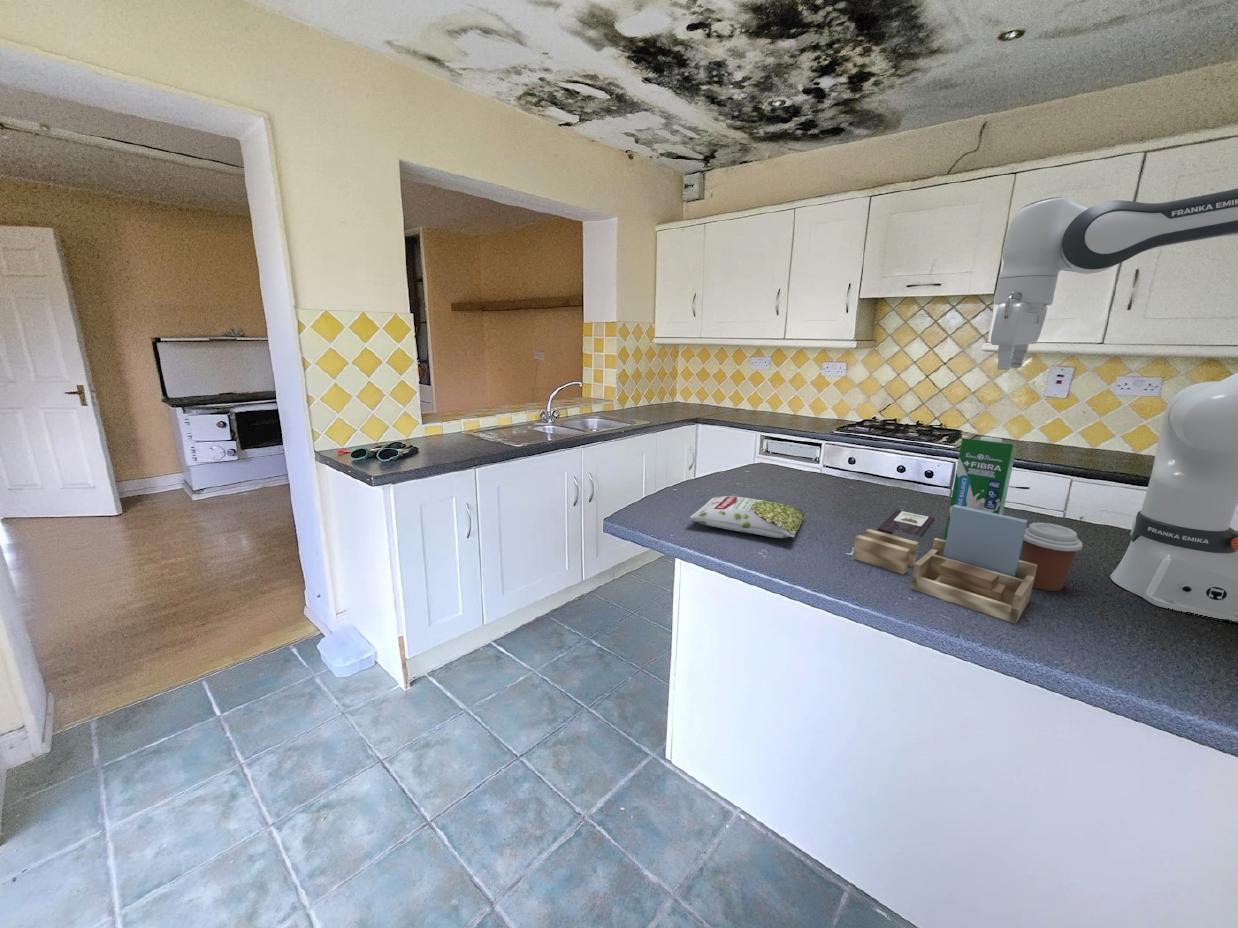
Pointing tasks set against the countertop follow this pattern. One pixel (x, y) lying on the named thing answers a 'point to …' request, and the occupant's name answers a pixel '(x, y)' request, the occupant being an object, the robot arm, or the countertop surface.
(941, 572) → the offcut
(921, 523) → the chocolate bar
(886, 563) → the stand
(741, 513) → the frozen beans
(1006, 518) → the sheet
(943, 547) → the rack
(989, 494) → the milk carton
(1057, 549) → the coffee cup
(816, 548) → the countertop surface
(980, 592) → the offcut
